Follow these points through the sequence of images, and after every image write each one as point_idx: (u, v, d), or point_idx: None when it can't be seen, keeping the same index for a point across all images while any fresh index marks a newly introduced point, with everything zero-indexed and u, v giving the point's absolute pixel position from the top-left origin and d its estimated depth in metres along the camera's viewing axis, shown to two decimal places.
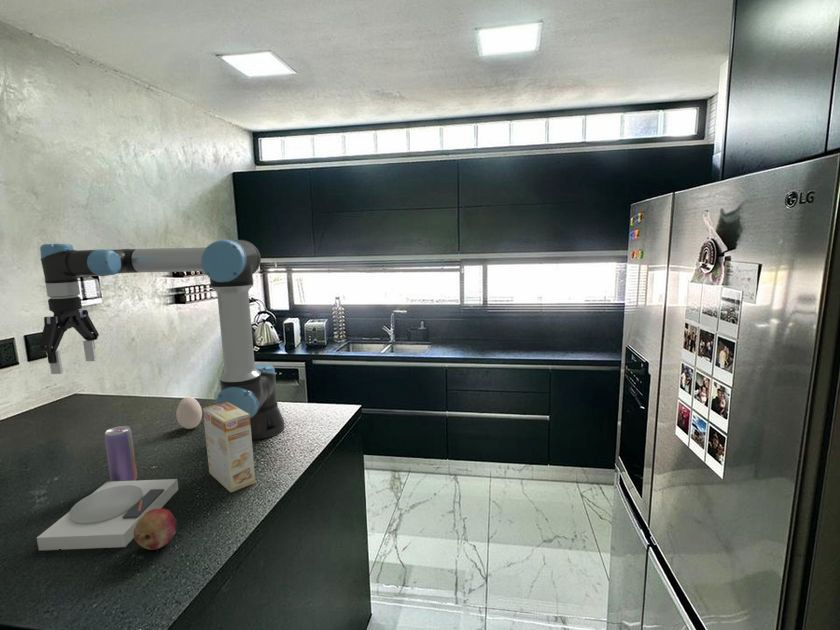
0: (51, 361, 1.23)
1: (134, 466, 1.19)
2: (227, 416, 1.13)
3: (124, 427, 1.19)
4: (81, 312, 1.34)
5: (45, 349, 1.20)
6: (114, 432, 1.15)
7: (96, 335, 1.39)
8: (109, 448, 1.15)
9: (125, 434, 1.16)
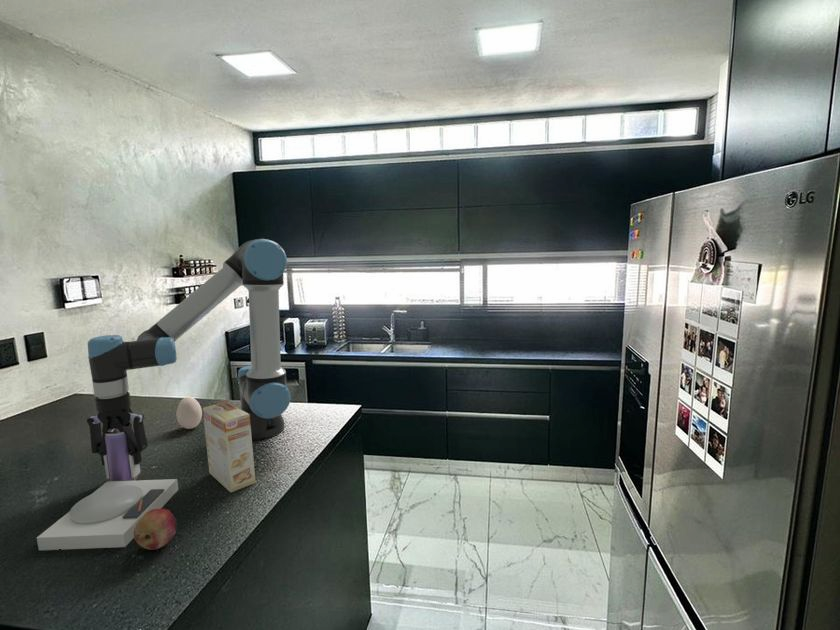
0: None
1: None
2: (227, 416, 1.13)
3: None
4: (134, 416, 1.16)
5: None
6: (114, 432, 1.15)
7: (137, 449, 1.16)
8: (109, 448, 1.15)
9: None
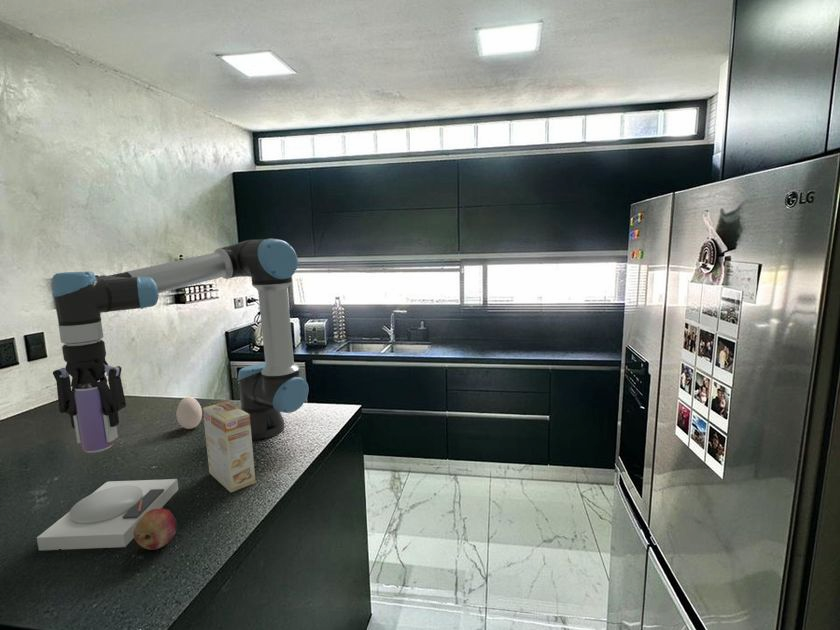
0: None
1: None
2: (227, 416, 1.13)
3: None
4: (109, 369, 0.97)
5: None
6: (86, 387, 0.97)
7: (114, 408, 0.98)
8: (79, 406, 0.96)
9: None
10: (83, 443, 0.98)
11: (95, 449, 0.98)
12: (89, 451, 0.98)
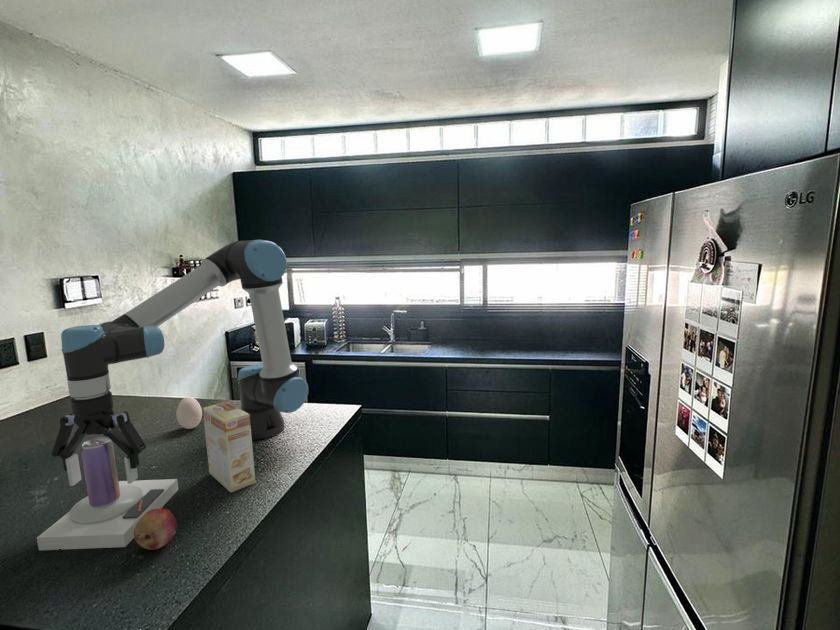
0: None
1: (116, 484, 1.03)
2: (227, 416, 1.13)
3: (104, 438, 1.02)
4: None
5: None
6: (92, 445, 0.99)
7: (135, 451, 1.00)
8: (85, 464, 0.98)
9: (105, 447, 0.99)
10: (90, 499, 1.00)
11: (101, 505, 1.00)
12: (96, 506, 1.00)
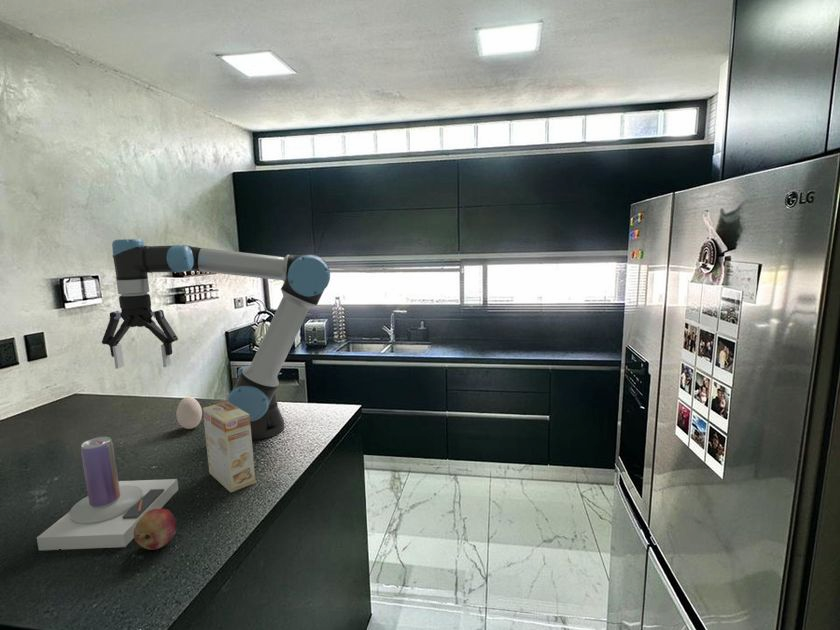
0: None
1: (116, 484, 1.03)
2: (227, 416, 1.13)
3: (104, 438, 1.02)
4: None
5: None
6: (92, 444, 0.99)
7: (169, 340, 1.25)
8: (85, 464, 0.98)
9: (105, 447, 0.99)
10: (90, 499, 1.00)
11: (101, 505, 1.00)
12: (95, 506, 1.00)
